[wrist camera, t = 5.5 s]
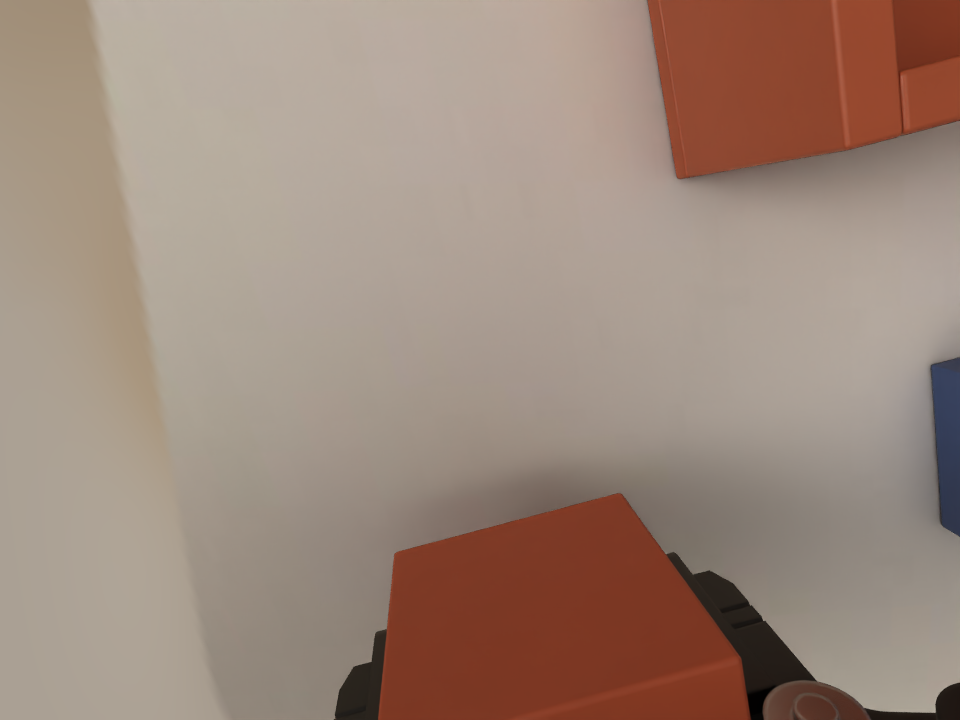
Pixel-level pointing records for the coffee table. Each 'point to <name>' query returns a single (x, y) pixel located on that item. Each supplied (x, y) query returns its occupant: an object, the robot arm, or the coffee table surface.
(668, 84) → the red bin
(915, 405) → the coffee table surface
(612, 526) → the red block
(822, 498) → the coffee table surface
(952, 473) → the blue block
